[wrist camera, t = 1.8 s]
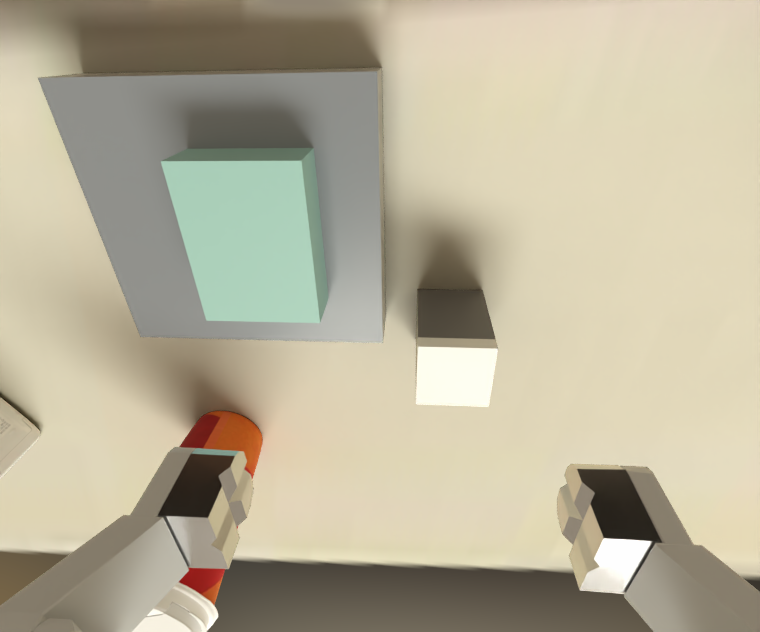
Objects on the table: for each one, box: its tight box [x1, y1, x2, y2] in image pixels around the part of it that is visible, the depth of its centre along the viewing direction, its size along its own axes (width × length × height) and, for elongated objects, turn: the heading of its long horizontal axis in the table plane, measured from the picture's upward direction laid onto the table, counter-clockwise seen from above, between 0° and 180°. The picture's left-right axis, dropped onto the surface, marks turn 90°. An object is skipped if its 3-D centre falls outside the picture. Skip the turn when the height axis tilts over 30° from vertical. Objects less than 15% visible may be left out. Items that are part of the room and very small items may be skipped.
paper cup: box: [132, 411, 263, 632], centre depth 29 cm, size 8×8×14 cm
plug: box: [416, 289, 498, 407], centre depth 25 cm, size 4×4×6 cm
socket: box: [38, 68, 386, 343], centre depth 23 cm, size 15×14×3 cm
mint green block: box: [161, 148, 329, 323], centre depth 21 cm, size 6×8×2 cm
